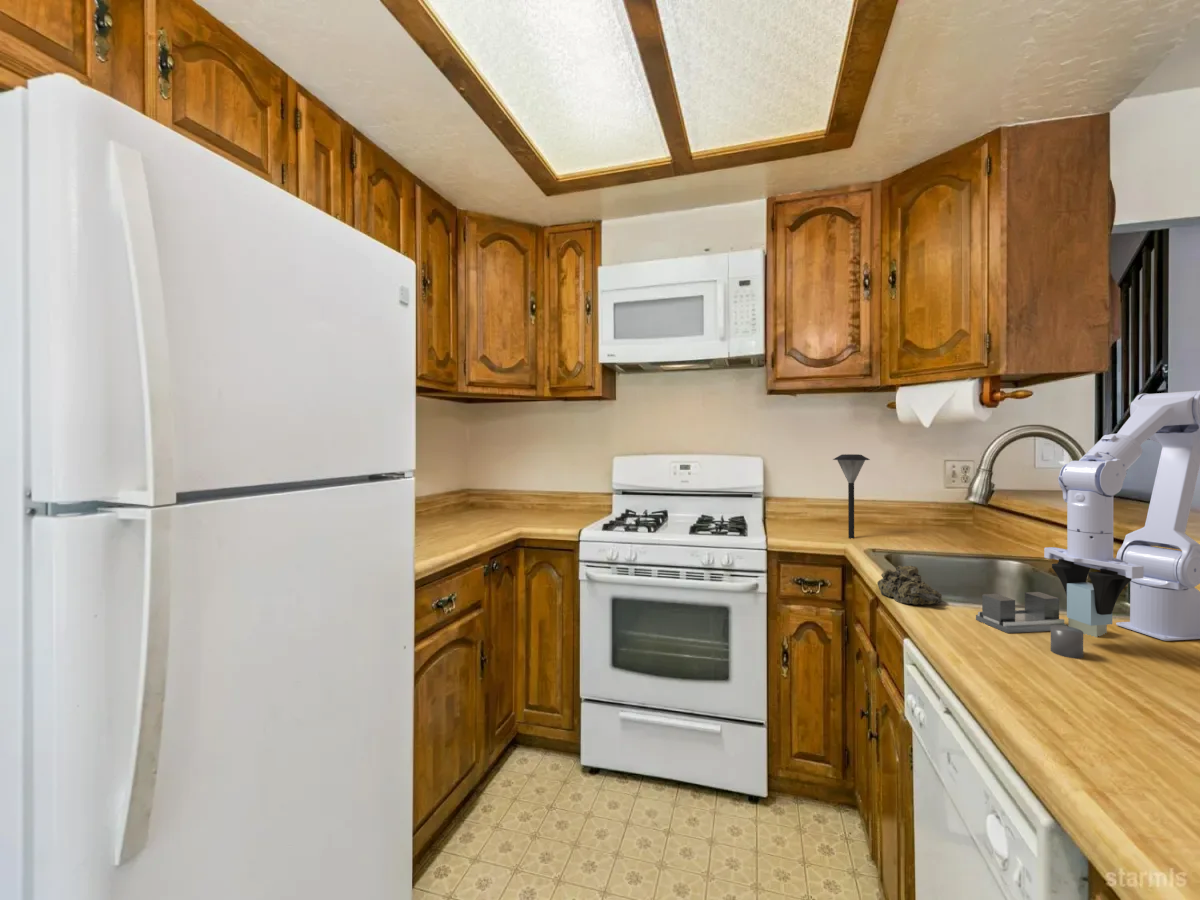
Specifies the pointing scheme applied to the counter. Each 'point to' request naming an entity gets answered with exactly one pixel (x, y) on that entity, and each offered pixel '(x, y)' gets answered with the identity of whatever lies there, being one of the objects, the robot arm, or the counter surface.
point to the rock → (907, 586)
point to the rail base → (1020, 613)
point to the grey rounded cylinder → (1067, 641)
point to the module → (1084, 605)
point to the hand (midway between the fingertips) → (1089, 609)
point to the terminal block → (1088, 628)
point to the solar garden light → (851, 482)
